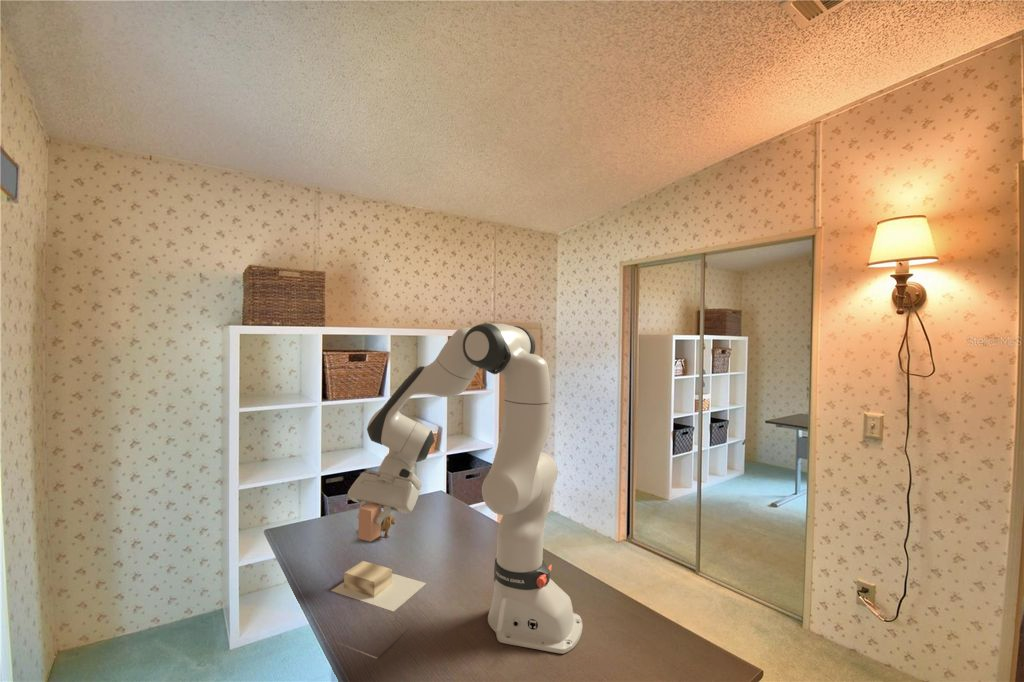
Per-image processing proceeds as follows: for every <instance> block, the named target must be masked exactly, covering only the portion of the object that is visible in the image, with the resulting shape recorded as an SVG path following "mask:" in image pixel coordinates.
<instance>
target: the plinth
mask: <svg viewBox="0 0 1024 682" xmlns="http://www.w3.org/2000/svg"><path fill="white" fill-rule="evenodd" d="M392 573H393V569H391V568H389V567H386V566H382V565H378V564H375V563H371V562H368V561H365V560H362V561H360V562H359V563H357V564H356V565H354V566H352V567H351V568H349V569H347V570H346V571H344V573H343V575H344V576H343V582H344V588H346V589H350V590H353V591H356V592H359V593H362V594H365V595H368V596H371V597H376V596H377V595H378V594H379V593H381V592H382V591H383V590H385V589H386V588H387V587H389V586H390V585H391V584H392Z"/></svg>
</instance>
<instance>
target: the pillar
mask: <svg viewBox="0 0 1024 682" xmlns="http://www.w3.org/2000/svg"><path fill="white" fill-rule="evenodd" d="M381 511H382V508H381V506H380V505H375V504H371V503H369V504H367V505H365V506H363V507H361V508H360V507H359V509H358V514H359V519H358V530H357V531H358V533H357V534H358V535H357V538H358V539H359V540H363V541H367V542H372V541H374V540H375V539H378V537H379V536H380V535H381V536H382V531H381V525H378V524H375V523H374V522H373V520H374V519H375V516H376V515H378V516H379V515H380V514H381Z"/></svg>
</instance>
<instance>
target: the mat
mask: <svg viewBox="0 0 1024 682" xmlns="http://www.w3.org/2000/svg"><path fill="white" fill-rule="evenodd" d="M425 585H427V583H426V582H424V581H419V580H416V579H413V578H411V577H410V578H409V577H408V576H407V577H406V576H404V575H400V574H395V573H393V572H392V584H391V585H390V586H389V587H387V588H386V589H385V590H383V591H382V592H381V593H379V594H378V595H377V596H376V597H371V596H368V595H365V594H362V593H359V592H356V591H353V590H350V589H346V588H344V581H343V582H341V583H340V584H339V585H337V586H336V587H334V588H332V589H331V590H330V591H331V592H333V593H337V594H340V595H342V596H346V597H348V598H352V599H355V600H358V601H361V602H364V603H366V604H370V605H372V606H376V607H378V608H382V609H384V610H388V611H391V612H395V611H396V610H397V609H398V608H399V607H401V606H402V605H403V604H404V603H405V602H407V601H408V600H409V599H411V597H412V596H414V594H416V593H417V592H419V591H420V590H421V589H422V588H423V587H425Z"/></svg>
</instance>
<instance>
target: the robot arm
mask: <svg viewBox="0 0 1024 682" xmlns="http://www.w3.org/2000/svg"><path fill="white" fill-rule="evenodd" d="M535 353H536V342H535V338H534V336H533V335H532V334H531V332H530V331H528V330H527V329H525V328H524V327H522V326H518V325H510V324H506V323H487V322H486V323H480V324H476V325H475V326H473V327H467V326H463V327H460V328H459V329H457V330H456V331H454V333H453V334H452V335H451V336H450V337H449V338H448V340H447V341H446V343H445V344H444V345H443V347H442V348H441V350H440V351H439V354H438V355H437V357H436V358H435V359H434V360H433V361H432V362H431V363H429V364H428V365H425V366H424V365H423V366H420V365H419V366H418V367H416V368H415V369H414V370H413V371H412V372H411V373H410V374H409V375H408V376H407V378H406V379H405V380H404V381H403V382H402V383H401V384H400V386H399V387H398V388H397V389H396V390H395V392H393V394H392V395H391V396H390V397H389V399H388V400H387V401H386V402H385V403H384V404H383V406H382V407H381V408H379V409H378V410H377V411H376V412H375V413H374V414H373V415H372V417H371V418H370V420H369V421H368V423H367V426H366V427H367V428H366V431H367V435H368V437H369V439H370V441H372V442H374V443H376V444H379V445H380V446H381V445H382V446H385V447H386V448H387V449H390V450H389V452H387V455H385V456H384V458H383V460H382V462H381V463H380V465H379V467H378V469H377V470H371V469H367V470H365V471H362V472H361V473H360V475H359V476H358V477H357V478H356V480H355V481H354V482H353V483H352V485H351V486H350V488H349V489H348V491H347V497H348V498H349V499H350V500H351V501H353V502H355V503H358V504H359V508H361V507H363V506H365V505H367V504H369V503H371V504H375V505H380V506H381V509H382V510H383V511H382V513H381V514H380V515H379V516H378V515H376V516H375V519H374V520H373V522H374V523H375V524H378V525H381V523H382V521H383V519H385V518H386V517H387V516H388V515H390V513H391V514H392V511H393V512H397V513H398V512H399V513H402V514H406V515H407V514H410V513H411V512H412V511H413V510H414V508H415V505H416V503H417V502H418V498H419V495H420V494H419V491H420V490H421V488H422V487H423V483H422V482H421V481H420V479H419V477H418V476H417V475H416V474H415V473H414V472H413V470H414V466H415V464H416V463H418V462H422V461H424V460H426V459H427V457H428V455H429V452H430V450H431V448H432V446H433V444H434V443H435V435H434V433H433V430H431V429H430V428H429V427H427V426H425V425H424V424H422V423H421V422H419V421H416V420H413V419H412V418H410V417H409V416H406V415H404V414H402V413H401V412H400V410H401V409H402V408H403V406H404V405H405V404H406V402H408V401H409V399H410V398H412V397H413V396H415V395H428V396H429V395H432V396H435V397H441V398H444V397H445V398H448V397H455V396H458V395H460V394H462V393H463V392H465V390H466V389H467V388H468V387H469V386H470V384H471V383H472V382H473V380H474V378H475V376H476V374H477V373H478V371H479V369H482V370H484V371H487V372H489V373H490V374H492V375H498V374H499V373H500V375H502V377H503V381H504V393H503V408H502V423H501V431H500V437H499V439H498V444H497V448H496V452H495V454H494V458H493V461H492V465H491V468H490V470H489V472H488V473H487V475H486V476H485V478H484V479H483V482H482V486H481V495H482V499H483V502H484V504H485V505H486V507H487V508H488V509H489V510H490V511H491V512H492V513H494V514H497V515H500V516H502V517H501V518H500V519H501V520H500V521H499V523H498V526H497V527H498V528H497V532H496V533H497V537H496V539H497V540H496V557H495V560H494V566H493V582H494V590H493V595H492V600H491V605H490V608H489V612H488V615H487V623H488V625H489V627H490V628H491V630H493V631H494V632H495V635H496V639H497V641H498V642H499V643H502V644H507V645H512V646H516V647H517V646H518V647H523V648H529V649H533V650H534V649H535V650H540V651H545V652H550V653H556V654H566V653H568V652H570V651H572V649H573V648H575V647H576V645H577V644H578V642H579V640H580V639H581V636H582V634H583V633H582V632H583V620H582V618H581V616H580V615H579V614H577V613H575V612H574V608H573V604H572V600H571V597H570V596H569V595H568V594H567V593H566V592H565V591H564V590H563V589H562V588H561V587H560V586H558V584H556V583H555V582H554V580H552V579H551V571H552V567H553V565H552V564H550V565H549V566H547V564H546V563H545V562H544V559H543V556H544V554H543V553H544V550H543V549H544V538H545V537H544V536H545V535H544V534H545V526H546V520H547V516H548V513H549V507H550V503H551V498H552V493H553V490H554V487H555V484H556V482H557V478H558V474H559V470H558V466H557V463H556V461H555V459H553V457H552V456H550V455H549V454H548V453H546V452H543V451H542V450H543V448H544V445H545V442H546V441H547V439H548V436H549V435H548V434H549V425H550V412H551V411H550V409H551V408H550V407H551V379H550V378H551V377H550V369H549V365H548V363H547V360H546V359H545V358H543V357H542V356H541V355H537V354H535ZM356 519H358V520H359V513H358V514H357V516H356Z"/></svg>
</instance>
